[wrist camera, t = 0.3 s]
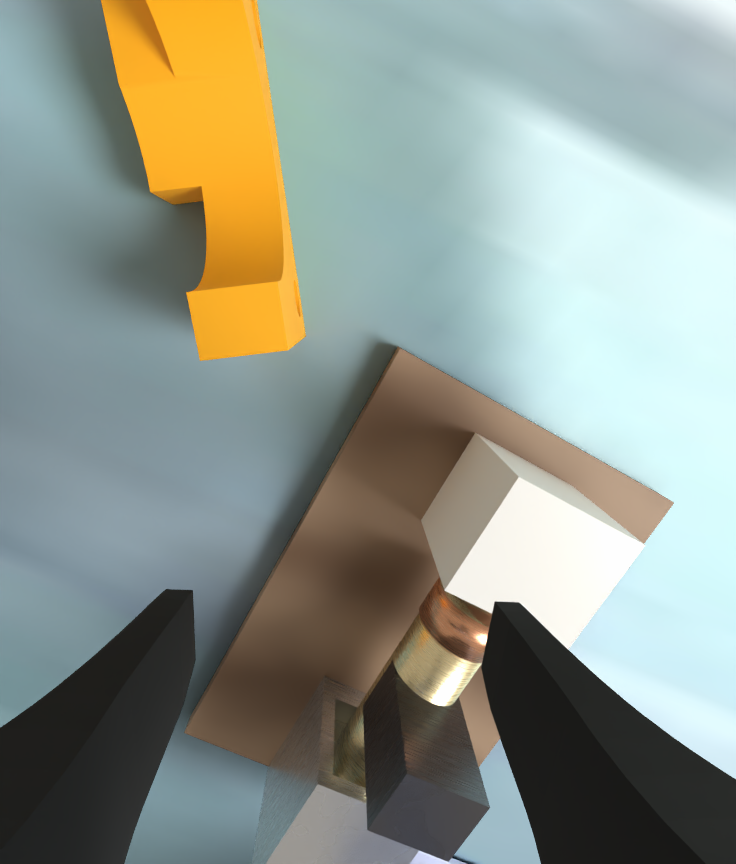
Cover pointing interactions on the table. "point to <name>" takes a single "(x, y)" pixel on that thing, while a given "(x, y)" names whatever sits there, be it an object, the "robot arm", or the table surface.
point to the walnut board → (380, 556)
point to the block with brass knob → (421, 732)
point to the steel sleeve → (319, 794)
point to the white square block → (525, 540)
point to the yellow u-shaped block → (214, 159)
